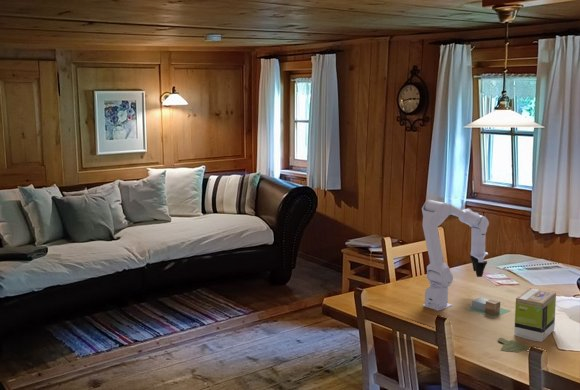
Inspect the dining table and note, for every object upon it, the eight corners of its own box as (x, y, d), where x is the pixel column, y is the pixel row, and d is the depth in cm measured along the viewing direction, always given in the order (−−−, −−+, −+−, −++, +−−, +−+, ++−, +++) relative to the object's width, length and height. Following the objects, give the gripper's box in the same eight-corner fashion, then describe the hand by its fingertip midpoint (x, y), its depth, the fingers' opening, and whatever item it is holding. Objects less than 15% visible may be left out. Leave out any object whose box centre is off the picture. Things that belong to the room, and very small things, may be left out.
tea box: (527, 324, 242) (530, 287, 239) (554, 330, 236) (557, 292, 233) (513, 336, 230) (515, 296, 228) (541, 343, 224) (544, 302, 222)
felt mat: (494, 318, 248) (494, 317, 248) (465, 309, 258) (465, 309, 258) (510, 311, 256) (510, 310, 256) (482, 303, 265) (482, 302, 265)
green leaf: (532, 363, 208) (532, 360, 208) (485, 345, 223) (486, 342, 222) (551, 355, 214) (551, 352, 214) (505, 338, 229) (505, 336, 229)
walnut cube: (494, 316, 250) (494, 303, 249) (485, 313, 253) (485, 301, 252) (499, 313, 252) (500, 301, 251) (490, 311, 255) (491, 299, 254)
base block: (484, 311, 255) (485, 304, 255) (471, 307, 260) (472, 300, 259) (493, 308, 259) (493, 300, 258) (480, 304, 263) (480, 297, 263)
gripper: (491, 247, 261) (490, 279, 264) (484, 238, 276) (484, 268, 278) (473, 247, 262) (473, 279, 265) (468, 238, 276) (467, 268, 279)
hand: (477, 273), depth 272 cm, fingers open, 7 cm apart
